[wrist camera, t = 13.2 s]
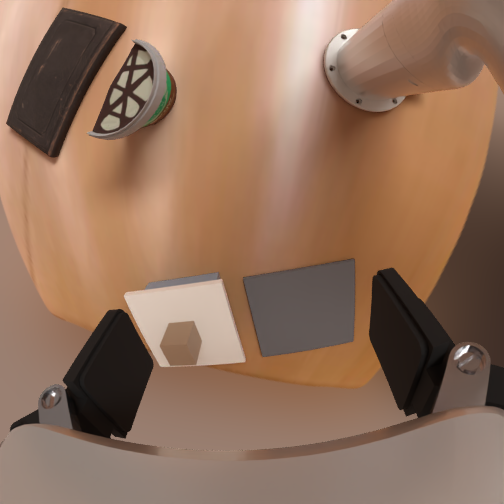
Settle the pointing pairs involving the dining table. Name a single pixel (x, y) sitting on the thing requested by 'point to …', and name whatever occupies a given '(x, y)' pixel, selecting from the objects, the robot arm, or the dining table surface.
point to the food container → (136, 94)
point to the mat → (303, 307)
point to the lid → (187, 324)
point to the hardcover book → (61, 77)
